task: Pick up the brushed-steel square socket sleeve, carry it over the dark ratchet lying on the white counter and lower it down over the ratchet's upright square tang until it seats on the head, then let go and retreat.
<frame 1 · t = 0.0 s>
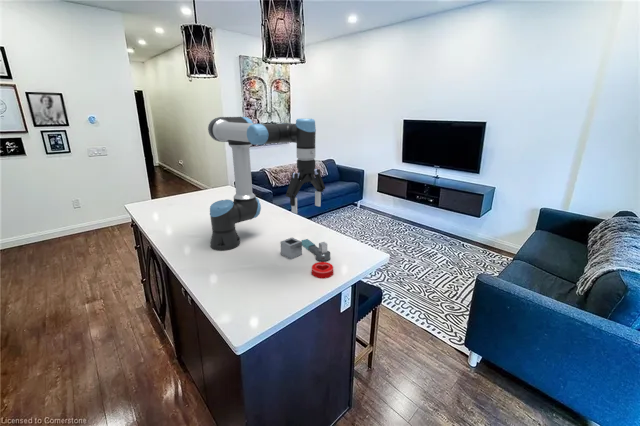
hand: (306, 209, 124), 28 cm above the kitchen island, fingers open, 13 cm apart
ratchet: (322, 258, 142), on the kitchen island
decorative ornament: (322, 273, 130), on the kitchen island
socket: (291, 254, 146), on the kitchen island
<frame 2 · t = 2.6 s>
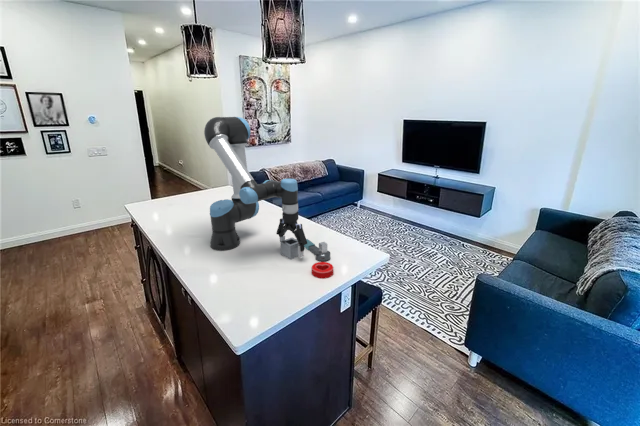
hand: (291, 252, 145), 1 cm above the kitchen island, fingers open, 13 cm apart
nothing on the kitchen island moved.
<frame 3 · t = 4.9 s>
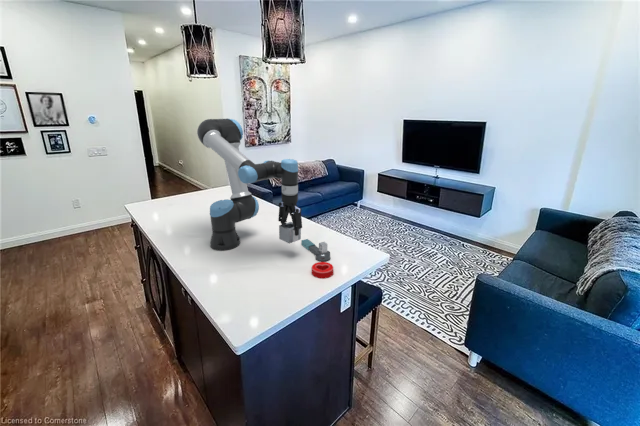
hand: (290, 238, 143), 9 cm above the kitchen island, fingers closed on socket, 7 cm apart
socket: (290, 238, 144), point 8 cm above the kitchen island, touching gripper
everything else where it was.
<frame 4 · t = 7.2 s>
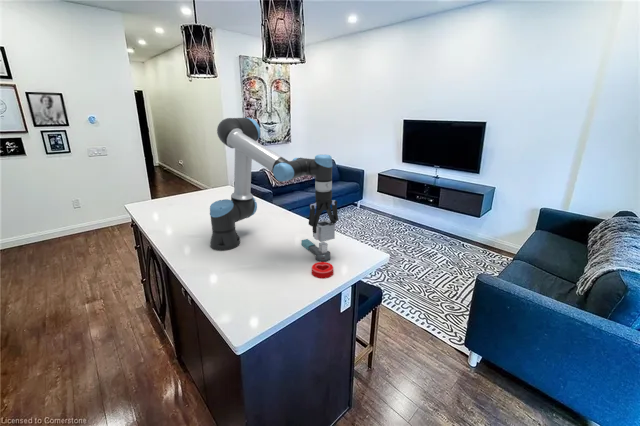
hand: (323, 237, 138), 11 cm above the kitchen island, fingers closed on socket, 7 cm apart
socket: (323, 237, 138), point 11 cm above the kitchen island, touching gripper
everything else where it was.
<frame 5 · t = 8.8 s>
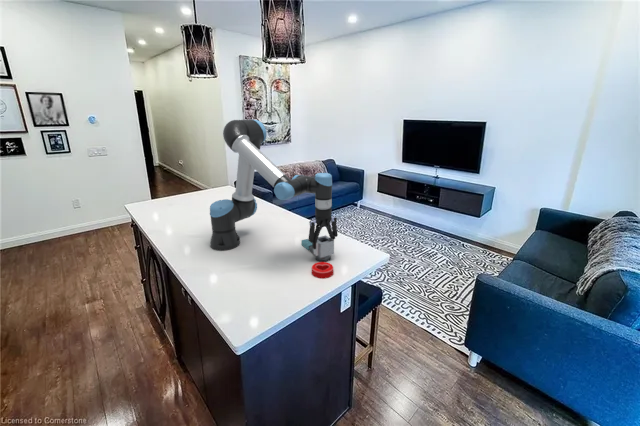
hand: (323, 252, 141), 3 cm above the kitchen island, fingers closed on socket, 7 cm apart
ratchet: (322, 258, 142), on the kitchen island, touching socket
socket: (323, 252, 141), point 3 cm above the kitchen island, touching gripper, ratchet
everything else where it was.
when the fingers open (3 cm above the kitchen island, at t = 9.5 s): socket stays where it is, resting on ratchet.
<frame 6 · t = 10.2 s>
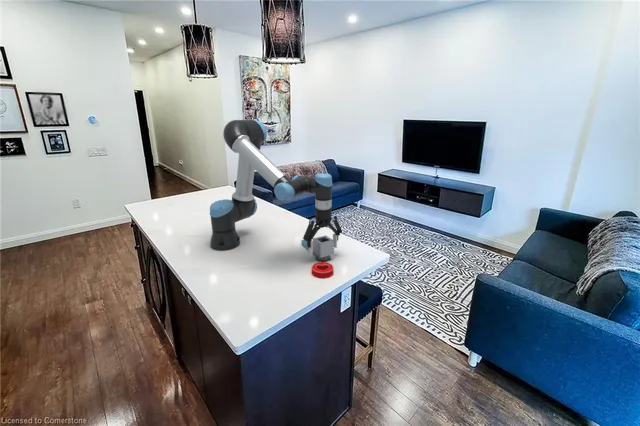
hand: (323, 250, 141), 5 cm above the kitchen island, fingers open, 13 cm apart
socket: (323, 253, 141), point 3 cm above the kitchen island, touching ratchet
everything else where it was.
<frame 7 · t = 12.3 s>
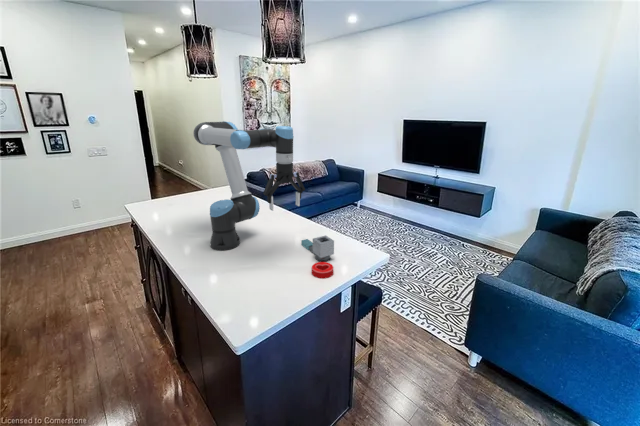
hand: (284, 207, 138), 25 cm above the kitchen island, fingers open, 13 cm apart
nothing on the kitchen island moved.
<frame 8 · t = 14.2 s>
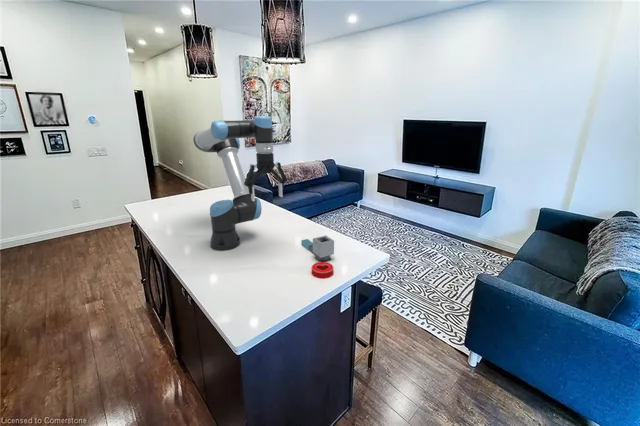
hand: (267, 198, 137), 29 cm above the kitchen island, fingers open, 13 cm apart
nothing on the kitchen island moved.
at the end: socket 0.1 cm off-centre on the ratchet, point 3.0 cm above the ratchet's base; socket tilted 0°; the gripper is holding nothing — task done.
